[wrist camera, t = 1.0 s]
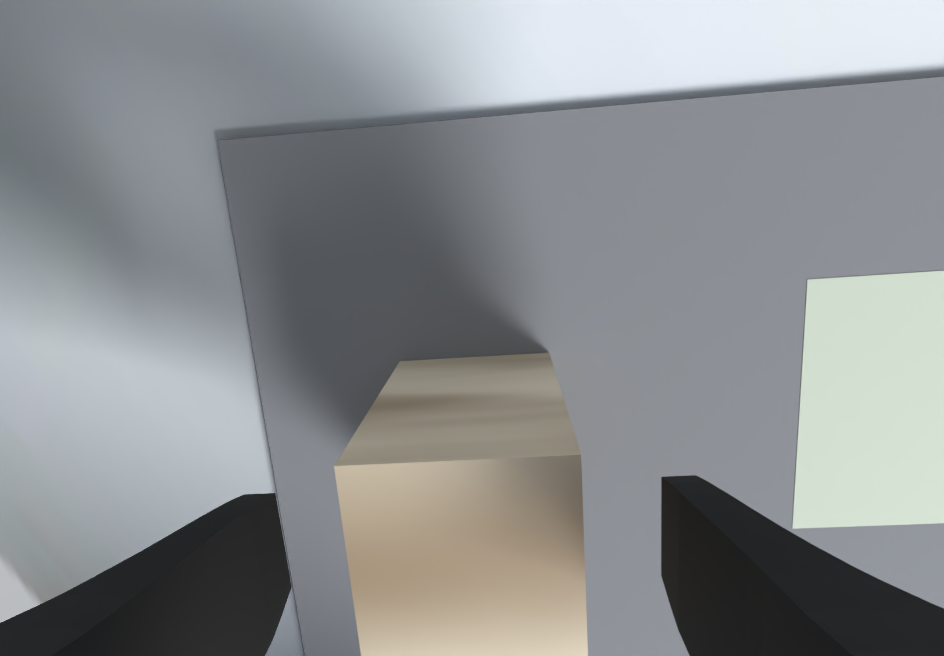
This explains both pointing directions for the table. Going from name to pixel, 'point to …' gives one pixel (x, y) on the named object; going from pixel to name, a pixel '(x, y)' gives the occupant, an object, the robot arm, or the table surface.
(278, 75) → the table surface
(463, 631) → the birch block
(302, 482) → the mat
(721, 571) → the robot arm
